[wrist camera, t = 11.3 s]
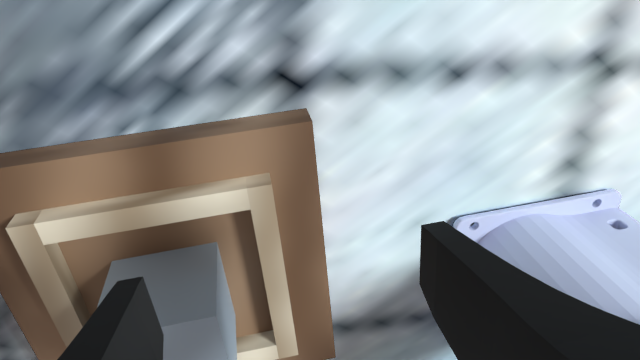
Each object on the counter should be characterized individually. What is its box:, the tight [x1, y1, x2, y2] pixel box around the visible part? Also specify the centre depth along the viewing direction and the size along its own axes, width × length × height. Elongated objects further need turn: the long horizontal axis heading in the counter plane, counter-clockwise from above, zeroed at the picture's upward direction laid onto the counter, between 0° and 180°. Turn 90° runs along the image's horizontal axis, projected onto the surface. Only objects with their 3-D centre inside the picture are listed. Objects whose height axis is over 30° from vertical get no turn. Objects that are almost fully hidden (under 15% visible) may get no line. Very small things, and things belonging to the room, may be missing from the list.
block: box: [97, 242, 237, 360], centre depth 19 cm, size 4×4×4 cm
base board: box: [0, 108, 335, 360], centre depth 21 cm, size 14×14×2 cm
